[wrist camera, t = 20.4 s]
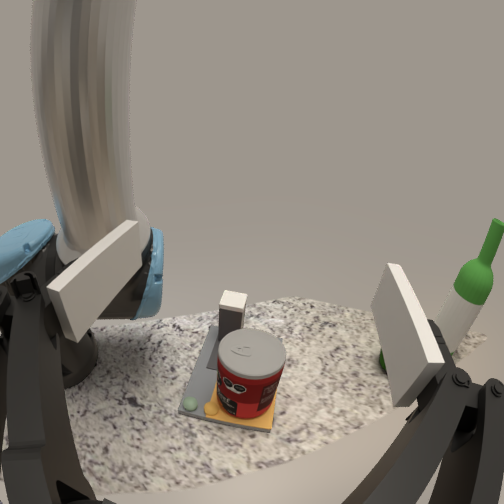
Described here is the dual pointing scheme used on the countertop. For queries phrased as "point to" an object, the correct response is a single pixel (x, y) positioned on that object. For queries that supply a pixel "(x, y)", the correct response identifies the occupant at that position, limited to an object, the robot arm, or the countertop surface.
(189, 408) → the panel
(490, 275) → the wine bottle
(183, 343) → the countertop surface
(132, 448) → the countertop surface
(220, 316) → the toggle
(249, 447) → the countertop surface
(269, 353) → the canned food
